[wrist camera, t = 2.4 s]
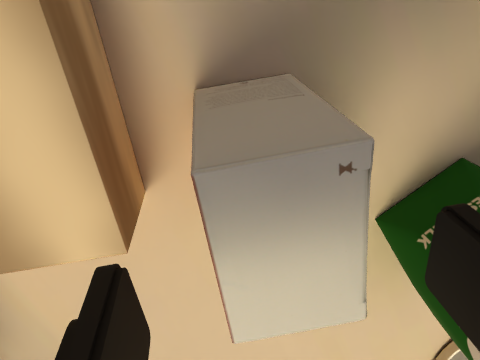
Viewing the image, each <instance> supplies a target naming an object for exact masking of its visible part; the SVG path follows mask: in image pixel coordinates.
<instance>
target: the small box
mask: <svg viewBox="0 0 480 360" xmlns="http://www.w3.org/2000/svg"><path fill="white" fill-rule="evenodd" d="M373 151H374V139H373V138H372V137H371V136H370V135H369V134H367V133H366V132H364V131H363V130H362V129H361V128H360V127H358V126H357V125H356V124H354V123H353V122H352V121H351V120H349V119H348V118H347V117H345V116H344V115H343V114H341V113H340V112H339V111H338V110H336V109H335V108H334V107H332V106H331V105H330V104H329V103H327V102H326V101H325V100H324V99H322V98H321V97H320V96H318V95H317V94H316V93H314V92H313V91H312V90H311V89H309V88H308V87H307V86H305V85H304V84H303V83H302V82H300V81H299V80H298V79H296V78H295V77H294V76H293V75H291V74H284V75H279V76H273V77H267V78H261V79H255V80H249V81H243V82H237V83H231V84H226V85H220V86H214V87H209V88H203V89H197V90H195V91H194V100H193V134H192V166H191V177H192V181H193V185H194V189H195V193H196V197H197V201H198V205H199V209H200V213H201V217H202V221H203V225H204V230H205V234H206V238H207V242H208V246H209V250H210V254H211V258H212V262H213V266H214V270H215V274H216V278H217V282H218V286H219V290H220V294H221V298H222V302H223V306H224V310H225V314H226V319H227V323H228V326H229V330H230V334H231V339H232V343H235V344H237V343H243V342H250V341H256V340H261V339H267V338H272V337H277V336H282V335H288V334H293V333H298V332H304V331H309V330H314V329H319V328H325V327H330V326H335V325H340V324H346V323H351V322H356V321H361V320H364V319H366V317H367V301H366V278H367V245H368V218H369V196H370V180H371V170H372V162H373Z"/></svg>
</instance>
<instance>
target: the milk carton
mask: <svg viewBox="0 0 480 360" xmlns="http://www.w3.org/2000/svg"><path fill="white" fill-rule="evenodd" d="M461 203H465V204H468V205H469V206H471V207H472V208H473V209H475V210H476V211H477V212H479V213H480V167H479V166H477V165H475V164H473V163H471V162H470V161H468V160H466V159H464V158H461V159H460V160H459V161H457V162H456V163H454V164H453V165H451V166H450V167H449V168H447V169H446V170H444V171H443V172H442V173H440V174H439V175H437V176H436V177H434V178H433V179H432V180H430V181H429V182H427V183H426V184H424V185H423V186H422V187H420V188H419V189H417V190H416V191H415V192H413V193H412V194H410V195H409V196H407V197H406V198H405V199H403V200H402V201H400V202H399V203H398V204H396V205H395V206H393V207H392V208H390V209H389V210H388V211H386V212H385V213H383V214H382V215H381V216H379V217H378V218H376V219H375V220H376V222H377V223H378V225H379V227H380V229H381V230H382V232H383V234H384V236H385V237H386V239H387V241H388V243H389V244H390V246H391V248H392V250H393V251H394V253H395V255H396V257H397V258H398V260H399V262H400V264H401V265H402V267H403V269H404V271H405V272H406V274H407V276H408V277H409V279H410V281H411V282H412V284H413V286H414V287H415V289H416V290H417V292H418V293H419V294H420V296H421V297H422V299H423V300H424V302H425V303H426V305H427V306H428V307H429V309H430V310H431V312H432V313H433V315H434V316H435V317H436V319H437V320H438V321H439V323H440V324H441V325H442V327H443V328H444V329H445V331H446V332H447V333H448V335H449V336H450V337H451V339H452V340H453V341H454V343H455V344H456V345H457V347H458V348H459V349H460V351H461V352H462V353H463V354H464V356H465V357H466V358H467V360H480V352H479V351H478V350H477V348H476V347H475V346H474V345H473V343H472V342H471V341H470V340H469V338H468V337H467V336H466V335H465V333H464V332H463V331H462V330H461V329H460V327H459V326H458V325H457V324H456V322H455V321H454V320H453V319H452V317H451V316H450V315H449V314H448V313H447V311H446V310H445V309H444V308H443V306H442V305H441V304H440V303H439V301H438V300H437V299H436V298H435V297H434V295H433V294H432V293H431V292H430V290H429V289H428V287H427V285H426V283H425V273H426V268H427V262H428V257H429V252H430V247H431V242H432V237H433V232H434V226H435V221H436V216H437V214H438V213H439V212H441V209H442V208H443V207H445V206H450V205H455V204H461Z"/></svg>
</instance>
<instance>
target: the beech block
mask: <svg viewBox="0 0 480 360" xmlns="http://www.w3.org/2000/svg"><path fill="white" fill-rule="evenodd" d="M144 195H145V189H144V186H143V182H142V179H141V175H140V172H139V168H138V165H137V161H136V158H135V155H134V151H133V148H132V144H131V141H130V137H129V134H128V130H127V127H126V123H125V120H124V116H123V113H122V109H121V106H120V102H119V99H118V95H117V92H116V89H115V85H114V82H113V78H112V75H111V71H110V68H109V64H108V61H107V57H106V54H105V50H104V47H103V43H102V40H101V36H100V33H99V29H98V26H97V23H96V19H95V16H94V12H93V9H92V5H91V2H90V0H0V274H4V273H10V272H16V271H22V270H29V269H35V268H41V267H47V266H53V265H59V264H66V263H72V262H78V261H84V260H90V259H96V258H102V257H109V256H115V255H121V254H127V253H128V250H129V246H130V243H131V239H132V236H133V233H134V229H135V226H136V222H137V219H138V216H139V212H140V209H141V205H142V202H143V199H144Z"/></svg>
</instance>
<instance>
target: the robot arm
mask: <svg viewBox="0 0 480 360" xmlns="http://www.w3.org/2000/svg"><path fill="white" fill-rule="evenodd" d="M425 283H426V285H427V287H428V289H429V290H430V292H431V293H432V294H433V295H434V297H435V298H436V299H437V300H438V301H439V303H440V304H441V305H442V306H443V308H444V309H445V310H446V311H447V313H448V314H449V315H450V316H451V317H452V319H453V320H454V321H455V322H456V324H457V325H458V326H459V327H460V329H461V330H462V331H463V332H464V333H465V335H466V336H467V337H468V338H469V340H470V341H471V342H472V343H473V345H474V346H475V347H476V348H477V350H478V351H479V352H480V213H479V212H477V211H476V210H475V209H473V208H472V207H471V206H469V205H468V204H465V203H461V204H455V205H450V206H445V207H443V208H442V209H441V212H439V213H438V214H437V216H436V221H435V226H434V232H433V237H432V242H431V247H430V252H429V257H428V262H427V268H426V273H425ZM149 348H150V330H149V327H148V324H147V321H146V319H145V316H144V313H143V311H142V308H141V305H140V302H139V300H138V297H137V294H136V292H135V289H134V286H133V284H132V281H131V278H130V276H129V273H128V270H127V269H126V268H121V267H120V266H119V264H113V265H107V266H101V267H97V268H96V270H95V272H94V274H93V277H92V280H91V283H90V286H89V289H88V291H87V294H86V297H85V300H84V303H83V306H82V308H81V311H80V314H79V317H78V319H75V320H72V321H71V322H70V323H69V325H68V327H67V329H66V331H65V334H64V337H63V339H62V342H61V344H60V347H59V350H58V352H57V355H56V358H55V360H148V356H149ZM436 360H467V358H466V357H465V356H464V354H463V353H462V352H461V351H460V349H459V348H458V347H457V345H456V344H455V343H454V341H452V342H451V343H450V344H449V345H447V346H446V347H445V348H444V349H443V350H442V352H441V353H440V354H439V355H438V356H437V358H436Z"/></svg>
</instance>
